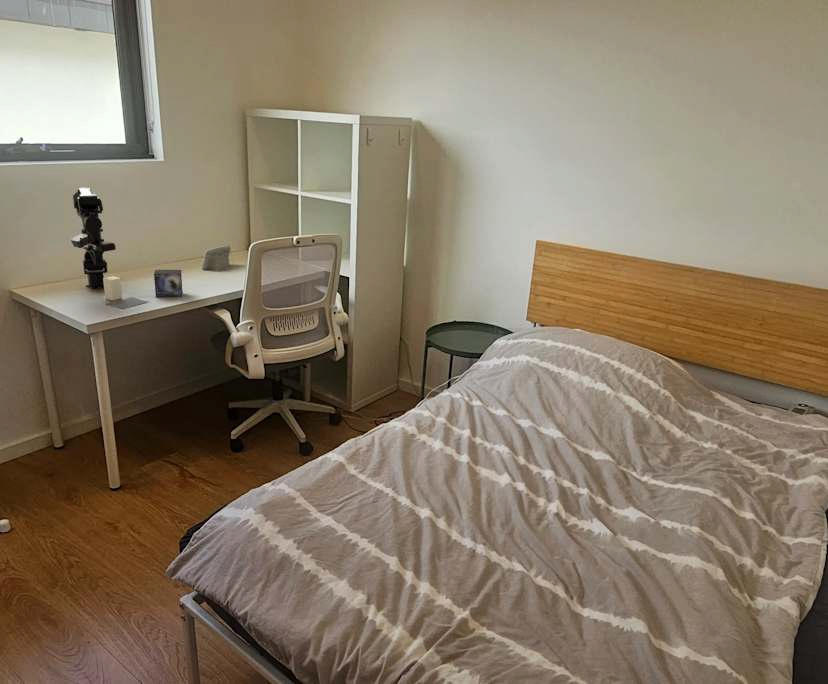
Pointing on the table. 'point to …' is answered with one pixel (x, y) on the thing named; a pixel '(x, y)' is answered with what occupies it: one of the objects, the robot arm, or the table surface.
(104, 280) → the cream block
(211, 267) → the digital clock
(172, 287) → the small box
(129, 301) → the grey rubber mat
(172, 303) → the table surface
